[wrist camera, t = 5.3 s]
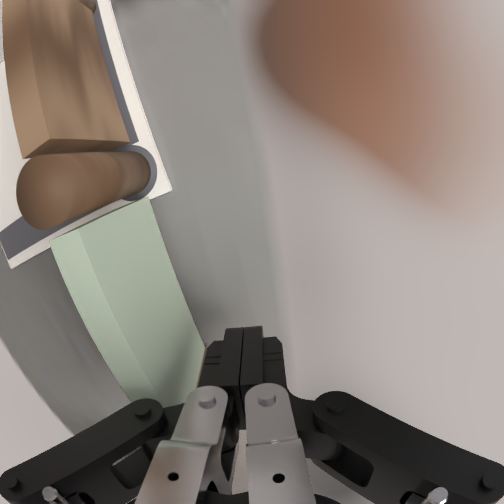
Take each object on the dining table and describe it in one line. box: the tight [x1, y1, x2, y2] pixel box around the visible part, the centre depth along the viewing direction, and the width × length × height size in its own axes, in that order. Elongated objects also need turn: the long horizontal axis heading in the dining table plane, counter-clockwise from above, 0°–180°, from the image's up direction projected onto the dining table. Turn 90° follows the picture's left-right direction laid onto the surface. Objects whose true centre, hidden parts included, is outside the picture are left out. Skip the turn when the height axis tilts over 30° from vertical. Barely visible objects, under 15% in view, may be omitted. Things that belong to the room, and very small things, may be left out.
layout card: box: [0, 0, 172, 269], centre depth 12 cm, size 12×12×1 cm
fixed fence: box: [2, 0, 151, 230], centre depth 8 cm, size 12×2×7 cm, turn 19°
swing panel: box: [49, 197, 207, 408], centre depth 11 cm, size 9×2×6 cm, turn 15°
